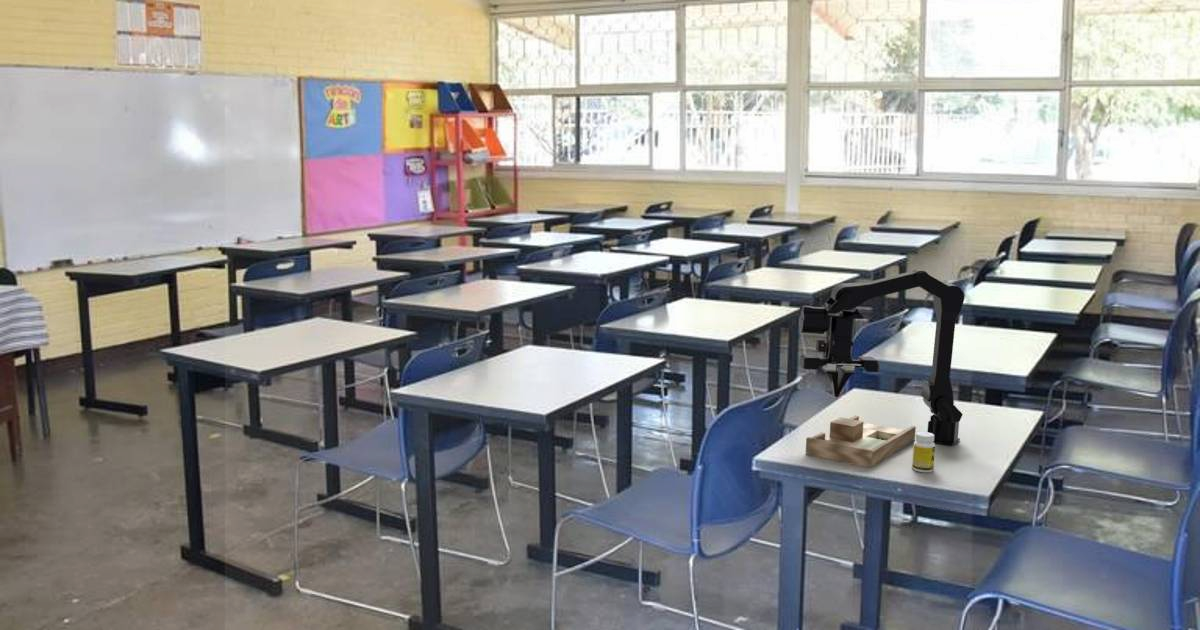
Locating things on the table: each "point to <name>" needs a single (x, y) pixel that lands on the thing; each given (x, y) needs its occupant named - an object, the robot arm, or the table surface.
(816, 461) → the table surface
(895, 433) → the box
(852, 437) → the block
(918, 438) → the supplement bottle
